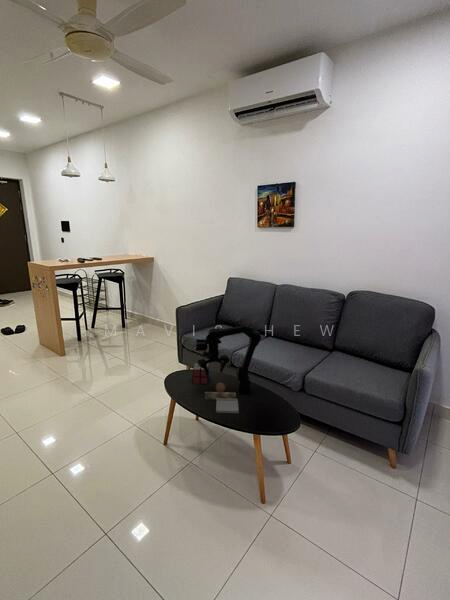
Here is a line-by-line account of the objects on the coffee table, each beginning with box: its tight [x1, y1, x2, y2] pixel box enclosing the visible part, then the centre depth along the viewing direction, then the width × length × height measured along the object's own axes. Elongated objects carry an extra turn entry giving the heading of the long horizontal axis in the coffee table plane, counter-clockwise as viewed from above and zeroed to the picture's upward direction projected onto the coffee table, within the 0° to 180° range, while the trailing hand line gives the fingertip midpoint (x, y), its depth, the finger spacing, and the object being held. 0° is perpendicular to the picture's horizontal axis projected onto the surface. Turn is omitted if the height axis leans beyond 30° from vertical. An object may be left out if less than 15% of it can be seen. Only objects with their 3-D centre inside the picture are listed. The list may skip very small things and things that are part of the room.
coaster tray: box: [215, 398, 240, 414], centre depth 168 cm, size 12×12×2 cm
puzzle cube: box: [192, 362, 210, 385], centre depth 196 cm, size 10×10×10 cm
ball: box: [215, 382, 226, 392], centre depth 183 cm, size 6×6×6 cm
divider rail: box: [204, 391, 237, 400], centre depth 175 cm, size 18×1×4 cm, turn 90°
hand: (214, 374), depth 182 cm, fingers open, 9 cm apart
